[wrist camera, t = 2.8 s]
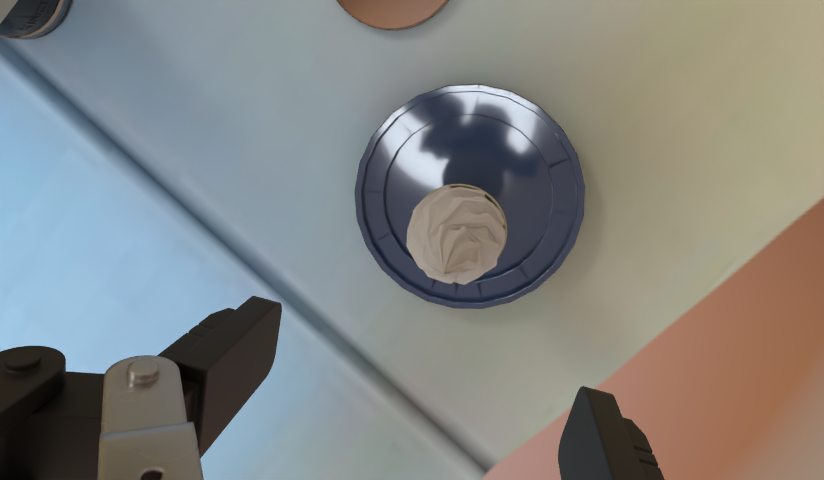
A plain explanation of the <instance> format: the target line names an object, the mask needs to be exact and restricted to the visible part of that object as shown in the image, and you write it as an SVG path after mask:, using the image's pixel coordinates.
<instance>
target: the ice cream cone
mask: <svg viewBox="0 0 824 480" xmlns="http://www.w3.org/2000/svg"><path fill="white" fill-rule="evenodd" d="M506 238H507V223H506V218H505V216H504V213H503V211H502V209H501V207H500V206H499V204H498V203H497V202H496V200H495V199H494V198H493V197H492V196H490V195H489V194H488V193H487V192H485V191H483V190H481V189H480V188H478V187H474V186H471V185H466V184H450V185H445V186H442V187H440V188H437V189H435V190H434V191H432V192H431V193H429V194H428V195H427V196H426V197H425V198H424V199H423V200H422V201H421V202H420V203H419V204H418V205H417V206H416V207H415V209H414V210H413V214H412V217H411V220H410V223H409V226H408V229H407V245H406V246H407V248H408V250H409V251H410V253H411V255H412V257H413V258H414V260H415V262H416V264H417V265H418V267H419V268H420V269H422V270H424V272H425V273H426V275H427V276H428V277H430V278H433V279H436V280H439V281H442V282H444V283H450V284H452V283H453V282H456V283H459V284H463V285H465V284H467V283H469V282H471V281H473V280H475V279H477V278H479V277H480V276H482V275H483V274H484V272H487V271H489V270H490V269H492V268H494V267H495V266H496V265H497V258H498V257H499V256H500V254H501V252H502V251H503V249H504V246H505V243H506Z"/></svg>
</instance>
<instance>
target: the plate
mask: <svg viewBox="0 0 824 480" xmlns="http://www.w3.org/2000/svg"><path fill="white" fill-rule="evenodd" d="M450 184H466V185H471V186H474V187H478V188H480V189H481V190H483V191H485V192H487V193H488V194H489V195H490V196H492V197H493V198H494V199H495V200H496V202H497V203H498V204H499V206H500V207H501V209H502V211H503V213H504V216H505V218H506V223H507V238H506V243H505V246H504V249H503V251H502V252H501V254H500V256H499V257H498V258H497V265H496V266H495V267H494V268H492V269H490V270H489V271H487V272H484V274H483V275H482V276H480V277H479V278H477V279H475V280H473V281H471V282H469V283H467V284H465V285H463V284H459V283H456V282H453V283H452V284H450V283H444V282H442V281H439V280H436V279H433V278H430V277H428V276H427V275H426V273H425V272H424V270H422V269H420V268H419V267H418V265H417V264H416V262H415V260H414V258H413V257H412V255H411V253H410V251H409V250H408V248H407V246H406V245H407V229H408V226H409V223H410V220H411V217H412V214H413V210H414V209H415V207H416V206H417V205H418V204H419V203H420V202H421V201H422V200H423V199H424V198H425V197H426V196H427V195H428V194H429V193H431V192H432V191H434V190H435V189H437V188H440V187H442V186H445V185H450ZM584 193H585V185H584V181H583V176H582V172H581V168H580V164H579V160H578V156H577V154H576V152H575V150H574V149H573V147H572V145H571V143H570V142H569V140H568V138H567V136H566V135H565V133H564V131H563V129H562V128H561V127H560V126H559V125H558V124H557V123H556V122H555V121H554V120H553V119H552V118H551V117H550V116H549V115H548V114H547V113H546V112H545V111H544V110H543V109H541V108H540V107H539V106H538V105H536V104H534V103H532V102H530V101H529V100H527V99H525V98H523V97H521V96H519V95H517V94H516V93H514V92H512V91H509V90H505V89H500V88H496V87H491V86H487V85H482V84H468V85H450V86H445V87H442V88H439V89H436V90H433V91H430V92H427V93H424V94H421V95H418V96H416V97H415V98H413V99H412V100H410V101H409V102H407V103H406V104H405V105H403V106H402V107H400V108H399V109H397V110H396V111H394V112H393V113H392V114H391V115H390V116H389V117H388V118H387V119H386V121H385V122H384V123H383V124H382V125H381V126H380V128H379V129H378V130H377V131H376V132H375V133H374V135H373V136H372V138H371V140H370V142H369V144H368V146H367V148H366V150H365V152H364V155H363V157H362V159H361V161H360V164H359V169H358V175H357V181H356V186H355V202H356V214H357V221H358V224H359V227H360V229H361V232H362V235H363V238H364V241H365V244H366V245H367V248H368V249H369V251H370V252H371V254H372V255H373V257H374V258H375V260H376V261H377V263H378V264H379V266H380V267H381V269H382V270H383V271H384V272H386V273H387V274H388V275H389V276H390V277H391V278H392V279H393V280H394V281H395V282H396V283H398V284H399V285H400V286H401V287H403V288H404V289H405V290H407V291H409V292H411V293H413V294H415V295H417V296H418V297H420V298H422V299H424V300H426V301H428V302H432V303H436V304H440V305H444V306H447V307H451V308H472V309H482V308H487V307H492V306H496V305H500V304H505V303H509V302H512V301H514V300H516V299H518V298H520V297H521V296H523V295H525V294H527V293H529V292H531V291H533V290H535V289H537V288H538V287H539V286H540V285H541V284H542V283H543V282H545V281H546V280H547V279H548V278H549V277H550V276H551V275H552V274H554V273H555V272H556V271H557V269H559V267H560V266H561V264H562V263H563V261H564V260H565V258H566V257H567V255H568V254H569V252H570V251H571V249H572V248H573V246H574V244H575V241H576V238H577V235H578V232H579V229H580V226H581V223H582V220H583V216H584Z"/></svg>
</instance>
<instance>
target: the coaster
mask: <svg viewBox="0 0 824 480" xmlns="http://www.w3.org/2000/svg"><path fill="white" fill-rule="evenodd" d="M337 1H338V3H339V4H340V5H341V6H342V7H343V8H344V10H345V11H347V12H348V13H349V14H350V15H351V16H352V17H354V18H356V19H357V20H359V21H360V22H362V23H364V24H367V25H369V26H371V27H375V28H378V29H384V30H401V29H407V28H411V27H414V26H417V25H419V24H421V23H423V22H425V21H426V20H428V19H430V18H431V17H433V16H434V15H435V14H436V13H437V12H439V11H440V10H441V9H442V7H443V6H444V5H445V4H446V3H447V2H448V0H337Z"/></svg>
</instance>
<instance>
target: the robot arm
mask: <svg viewBox="0 0 824 480" xmlns="http://www.w3.org/2000/svg"><path fill="white" fill-rule="evenodd" d="M69 3H70V0H0V36H3V37H8V38H17V39H32V38H37V37H40V36H42V35H45V34H46V33H48V32H50V31H51V30H52V29H54V28H55V27H56V26H57V25H58V24H59V22H60V21H61V20H62V18H63V17H64V15H65V13H66V11H67V9H68V6H69ZM281 312H282V306H281V303H279V302H275V301H271V300H268V299H264V298H260V297H257V296H252V297H251V298H249V299H248V300H247V301H246V302H245V303H243V304H242V305H241V306H240V307H239V308H237V309H236V310H234V309H231V308H227V309H224V310H221V311H218V312H216V313H213V314H210V315H209V316H208V317H207V318H205V319H204V320H203V321H201V322H200V323H199V325H196V326H195V327H194V328H192V329H191V330H190V331H189V333H186V334H185V335H183V336H182V337H181V338H179V339H178V340H177V341H176V342H174V343H173V344H172V345H170V346H169V347H168V348H166V349H165V350H164V351H163V352H161V353H160V354H159V355H157V356H150V355H144V356H135V357H130V358H127V359H123V360H121V361H119V362H117V363H115V364H113V365H112V366H111V367H110V368H109V369H108V370H107V371H106V373H105V374H95V373H80V372H66V359H65V356H64V355H63V354H62V353H61V352H60V351H58V350H56V349H53V348H50V347H45V346H23V347H16V348H12V349H8V350H4V351H1V352H0V480H204V479H203V473H202V467H201V461H200V458H201V457H202V456H203V455H204V453H205V452H206V451H207V450H208V448H209V447H210V446H211V445H212V443H213V442H214V441H215V440H216V439H217V437H218V436H219V435H220V434H221V432H222V431H223V430H224V429H225V427H226V426H227V425H228V424H229V423H230V421H231V420H232V419H233V418H234V416H235V415H236V414H237V413H238V411H239V410H240V409H241V408H242V406H243V405H244V404H245V403H246V402H247V400H248V399H249V398H250V397H251V395H252V394H253V393H254V392H255V390H256V389H257V388H258V387H259V386H260V384H261V383H262V382H263V381H264V379H265V378H266V377H267V375H268V374H269V372H270V370H271V367H272V365H273V362H274V358H275V353H276V347H277V340H278V333H279V326H280V320H281ZM558 462H559V468H560V474H561V480H665V479H664V477H663V475H662V473H661V470H660V468H658V463H657V461H656V459H655V456H654V455H653V454H652V449H651V447H650V445H649V442H648V440H647V438H646V436H645V435H644V433H643V432H642V431H641V430H640V429H639V428H638V427H637V426H636V425H635V424H634V423H633V421H632V420H630V419H626V418H623V417H622V415H621V413H620V410H619V407H618V405H617V402H616V400H615V397H614V396H613V395H612V394H610V393H606V392H602V391H599V390H595V389H591V388H588V387H584V386H582V387H581V388H580V389H579V391H578V393H577V395H576V398H575V401H574V403H573V406H572V409H571V412H570V415H569V417H568V420H567V423H566V425H565V428H564V431H563V434H562V437H561V440H560V444H559V452H558Z"/></svg>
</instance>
